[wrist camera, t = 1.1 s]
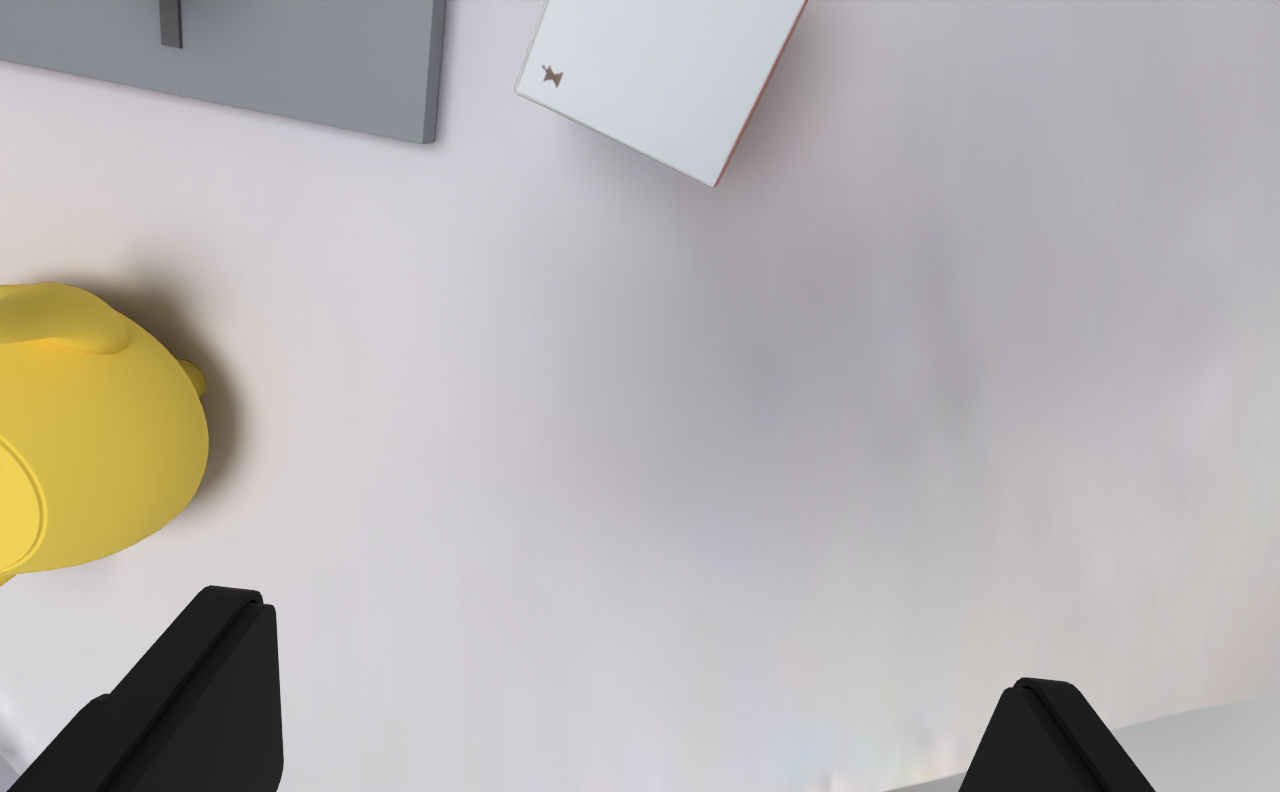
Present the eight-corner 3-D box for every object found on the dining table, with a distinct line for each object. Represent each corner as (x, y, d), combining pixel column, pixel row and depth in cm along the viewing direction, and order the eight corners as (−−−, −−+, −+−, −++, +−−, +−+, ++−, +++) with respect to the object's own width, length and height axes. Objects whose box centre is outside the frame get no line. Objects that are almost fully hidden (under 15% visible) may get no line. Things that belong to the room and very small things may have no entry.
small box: (683, 160, 32) (714, 197, 20) (553, 95, 31) (504, 93, 19) (771, -26, 30) (866, -111, 18) (631, -105, 29) (631, -252, 17)
